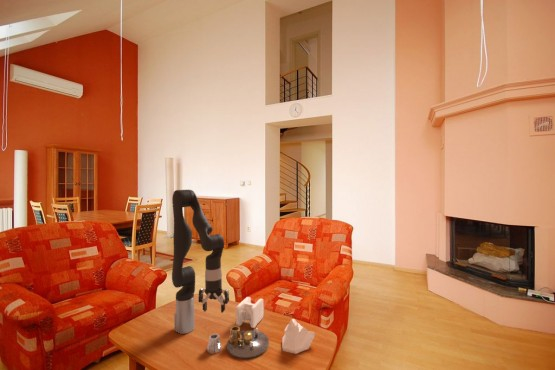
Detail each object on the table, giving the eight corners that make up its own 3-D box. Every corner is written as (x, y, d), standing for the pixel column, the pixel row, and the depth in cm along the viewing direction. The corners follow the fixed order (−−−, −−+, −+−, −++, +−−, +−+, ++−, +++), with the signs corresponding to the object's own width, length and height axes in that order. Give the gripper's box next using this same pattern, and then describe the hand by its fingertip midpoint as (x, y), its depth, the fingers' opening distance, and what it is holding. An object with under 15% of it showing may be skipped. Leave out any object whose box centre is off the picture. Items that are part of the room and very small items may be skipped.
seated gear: (229, 345, 123) (228, 333, 123) (228, 338, 129) (228, 326, 129) (242, 343, 125) (242, 331, 125) (241, 336, 131) (241, 324, 131)
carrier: (220, 356, 118) (220, 344, 118) (234, 331, 138) (234, 321, 137) (264, 360, 115) (264, 348, 115) (271, 334, 135) (271, 323, 135)
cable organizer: (252, 331, 138) (252, 309, 138) (235, 327, 141) (234, 306, 141) (264, 317, 152) (263, 297, 152) (247, 314, 155) (247, 295, 155)
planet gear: (205, 352, 121) (205, 340, 121) (210, 344, 127) (210, 332, 127) (218, 353, 120) (218, 341, 120) (223, 345, 126) (223, 333, 126)
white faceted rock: (306, 361, 117) (300, 334, 114) (277, 353, 124) (271, 328, 121) (315, 339, 127) (310, 314, 124) (288, 333, 134) (282, 309, 132)
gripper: (195, 279, 120) (196, 314, 121) (225, 280, 118) (225, 316, 119) (202, 273, 128) (203, 306, 128) (230, 275, 126) (231, 308, 126)
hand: (214, 311), depth 123 cm, fingers open, 8 cm apart
